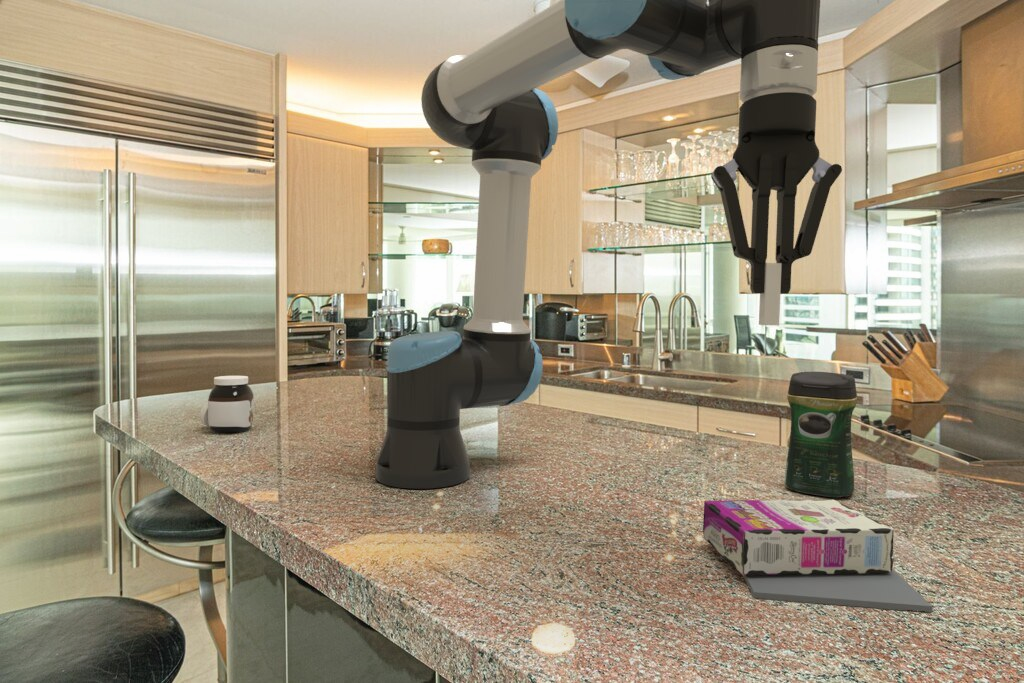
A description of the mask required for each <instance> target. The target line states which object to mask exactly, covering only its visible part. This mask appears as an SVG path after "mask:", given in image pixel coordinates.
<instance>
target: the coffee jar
mask: <svg viewBox="0 0 1024 683" xmlns="http://www.w3.org/2000/svg"><path fill="white" fill-rule="evenodd" d="M786 397H787V402H788V405H789V407H790V434H789V435H790V436H789V442H788V451H787V458H786V463H785V473H784V484H785V486H786V487H787V488H788V489H789V490H791V491H796V492H799V493H802V494H805V495H812V496H818V497H819V496H820V497H829V498H842V497H846V498H847V497H848V496H851V495H852V494H853V493H854V489H855V474H854V461H853V448H852V418H853V417H852V416H853V413H854V410H855V408H856V406H857V403H858V393H857V387H856V380H855V376H854V375H851V374H845V373H837V372H828V371H801V372H800V371H799V372H795V373H793V374H792V375H791V377H790V381H789V385H788V391H787V396H786Z"/></svg>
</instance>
